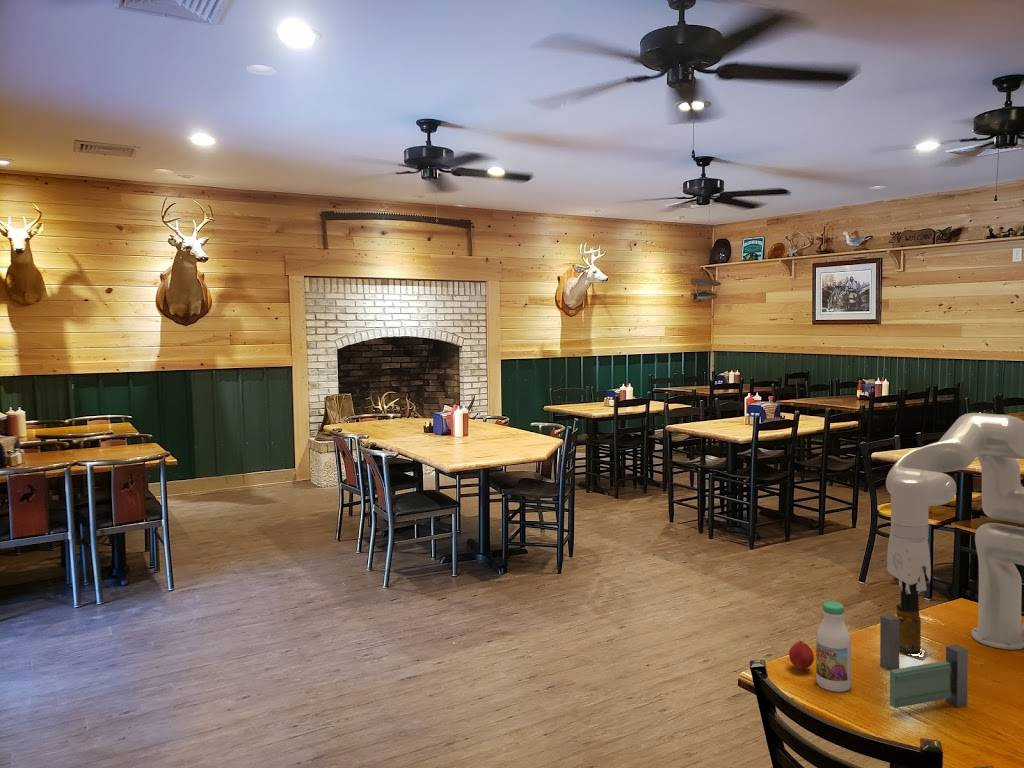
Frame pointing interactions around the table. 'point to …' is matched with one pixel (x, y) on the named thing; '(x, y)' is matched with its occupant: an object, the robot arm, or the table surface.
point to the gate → (920, 684)
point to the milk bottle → (833, 650)
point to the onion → (801, 655)
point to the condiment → (910, 632)
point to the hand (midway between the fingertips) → (909, 608)
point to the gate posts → (953, 656)
